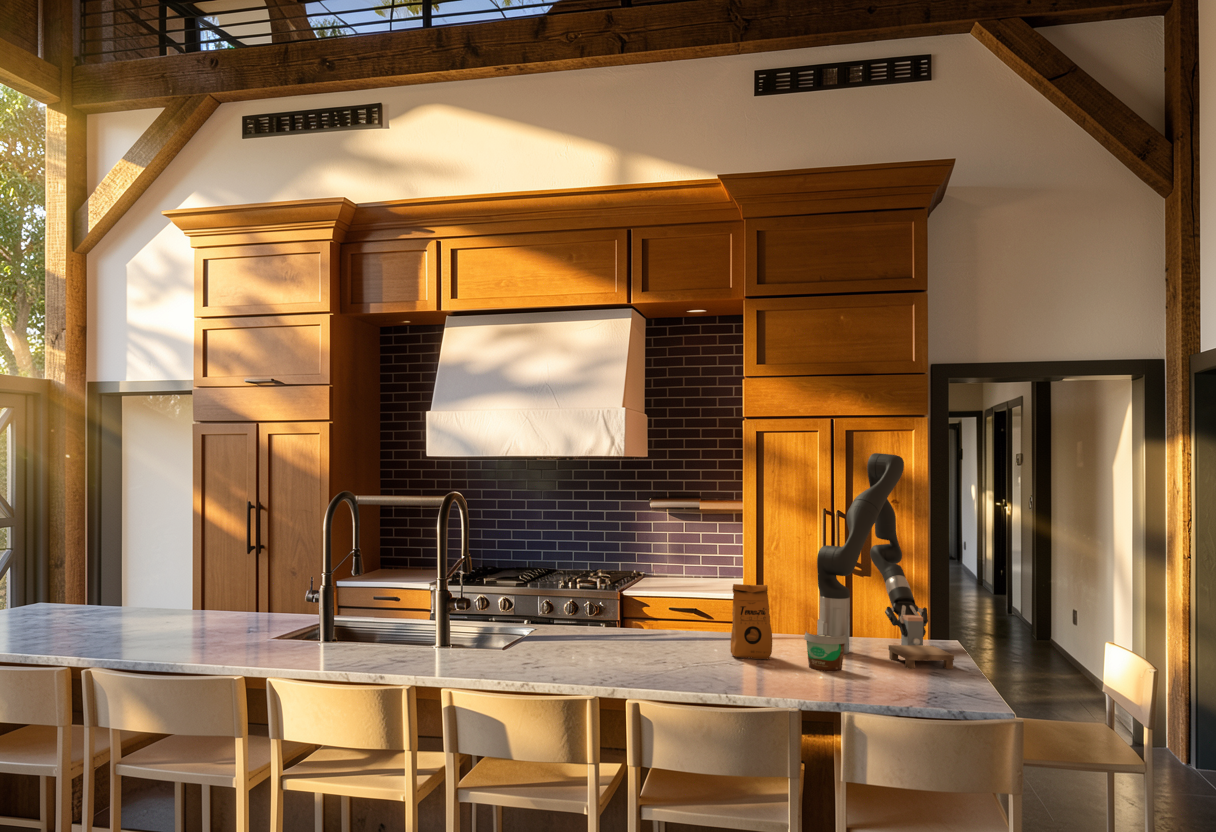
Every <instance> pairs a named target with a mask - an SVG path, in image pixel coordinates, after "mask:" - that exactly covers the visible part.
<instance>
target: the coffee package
mask: <svg viewBox="0 0 1216 832" xmlns="http://www.w3.org/2000/svg"><path fill="white" fill-rule="evenodd" d="M768 586H769V585H768V584H741V583H733V584H732V589H731V590H732V593H733V597H732V599H733V600H732V627H731V633H730V634H731V635H730V637H731V638H730V653H731V655H732V656H734V657H736V658H742V659H754V660H770V659H771V658H770V657H771V655H772V653H773V630H772V626H771V616H770V614H771V613H770V604H769V594H768V591H769V589H768V588H769V587H768Z"/></svg>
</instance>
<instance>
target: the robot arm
mask: <svg viewBox="0 0 1216 832" xmlns="http://www.w3.org/2000/svg"><path fill="white" fill-rule="evenodd" d="M866 468H867V469H866V470H867V478H868V483H869V484H868V485H869V488H867V489H865V490H863V491H862V492H860V493H859V494H858V495H857V496H855V498H854V499H853V501H852V502H851V505H850V507H849V508H848V510H847V512H846V525H847V528H848V538H847V540H846V542H845V543H844V545H842V546H838V545H827V544H826V545H823V546H821V548H819V550H818V553H817V557H816V558H817V559H816V569H817V587H818V590H819V618H818V619H817V621H816V624H817V625H816V626H817V628H816V629H817V630H816V631H817V632H816V635H829V636H833V637H837V636H844V635H845V637H846V639H847V643H845V645H844V654H843V655H846V654H850V610H851V609H850V608H851V607H850V603H851V602H850V600H851V599H850V598H851V596H850V595H851V594H850V588H848V587H847V586H845V585H844V584H842V583H841V582H840V581H839V580H838V577H848V576H850V575H851V574H852V573H853V572H854V570H855V569H856V566H857V563H858V560H859V558H860V555H861V552H862V550H863V547H864V545H865V543H866V541H867V539H868V536H869V534H870V532H871V530H872V528H873V527H874V535H875V537H876V538H877V539H879V540H884V541H888V542H889V543H884V544H874V545H872V546H871V548H870V550H869V556H870V557H869V558H870V559H871V562H872V563H873V565H874V566H875V568H877V570H878V571H879V573H880V575H881V576H882V578H883V582H884V583H885V589H886V593H887V595H888V598H889V601H890V605H891V606H887V607H886V608H885V611H884V613H885V615H886V617H887V619H888V620H889V621H890V623H891V625H892V626H894V627H895V626H897V627H898V628H899V631H900V634H902V635H904V637H907V635H908V631H907V629H906V626H905V624H904V619H903V615H917V616H920V617H923V638H924V637H925V635H926V632H927V631H926V628H925V627H926V626H927V624H928V622H929V618H928V617H929V616H928V608H927V607H922V608H920V607H919V606H918V605H917V604H916V600H915V597H914V595H913V592H912V589H911V587H910V583H909V582H908V579H907V578H906V575H905V573H904V569H903V568H902V566H901V565H899V563H901V560H902V559H903V551H902V550H901V546H900V542H899V540H898V534H897V517H896V513H895V510H894V508H893V505H892V504H891V502H890V501H889V499H888V498H889V496H890V495H891V493H892V492H893V490H894V488H895V487H896V486H897V485H898V483H899V481H900V480H901V478H902V475H903V473H904V468H905V461H904V460H903V458H902V457H901V456H900V455H896V454H892V453H891V454H890V453H880V452H879V453H877V452H875V453H874V452H873V453H872V454H871V455H870V456H869V457H868V460H867V465H866ZM837 576H838V577H837ZM896 615H897V616H896ZM897 617H898V618H897Z"/></svg>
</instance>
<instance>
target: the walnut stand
mask: <svg viewBox="0 0 1216 832" xmlns="http://www.w3.org/2000/svg"><path fill="white" fill-rule="evenodd" d="M888 651H889V653H888V654H889V655H888V656H889V660H891V661H899V657H901V658H903V659H904V660H905V661H904V662H905V663H904V664H905V665H904V666H905V668H906V669H908V670H910V669H911V670H913V669H914V670H915V668H916V665H915V663H916V662H915V661H943V663H942V664H943V665H942V666H943V669H946V670H954V661H955V655H954V654H952V653H950V652H948V651H946V650H944V649H941V648H939V647H937V646H934V645H923V646H921V645H900V644H898V645H897V644H895V645H894V644H893V645H892V644H889V645H888Z"/></svg>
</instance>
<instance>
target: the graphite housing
mask: <svg viewBox="0 0 1216 832" xmlns="http://www.w3.org/2000/svg"><path fill="white" fill-rule="evenodd" d="M903 619H904V624H905V626H906V629H907V631H908V635H907V637H904V635H902V634H901V633H900V634H901V635H900V637H901V640H900V641H901V642H900V643H901V645H921V646H924V637H923V617H921V616H920V615H919V616H917V615H903Z"/></svg>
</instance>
